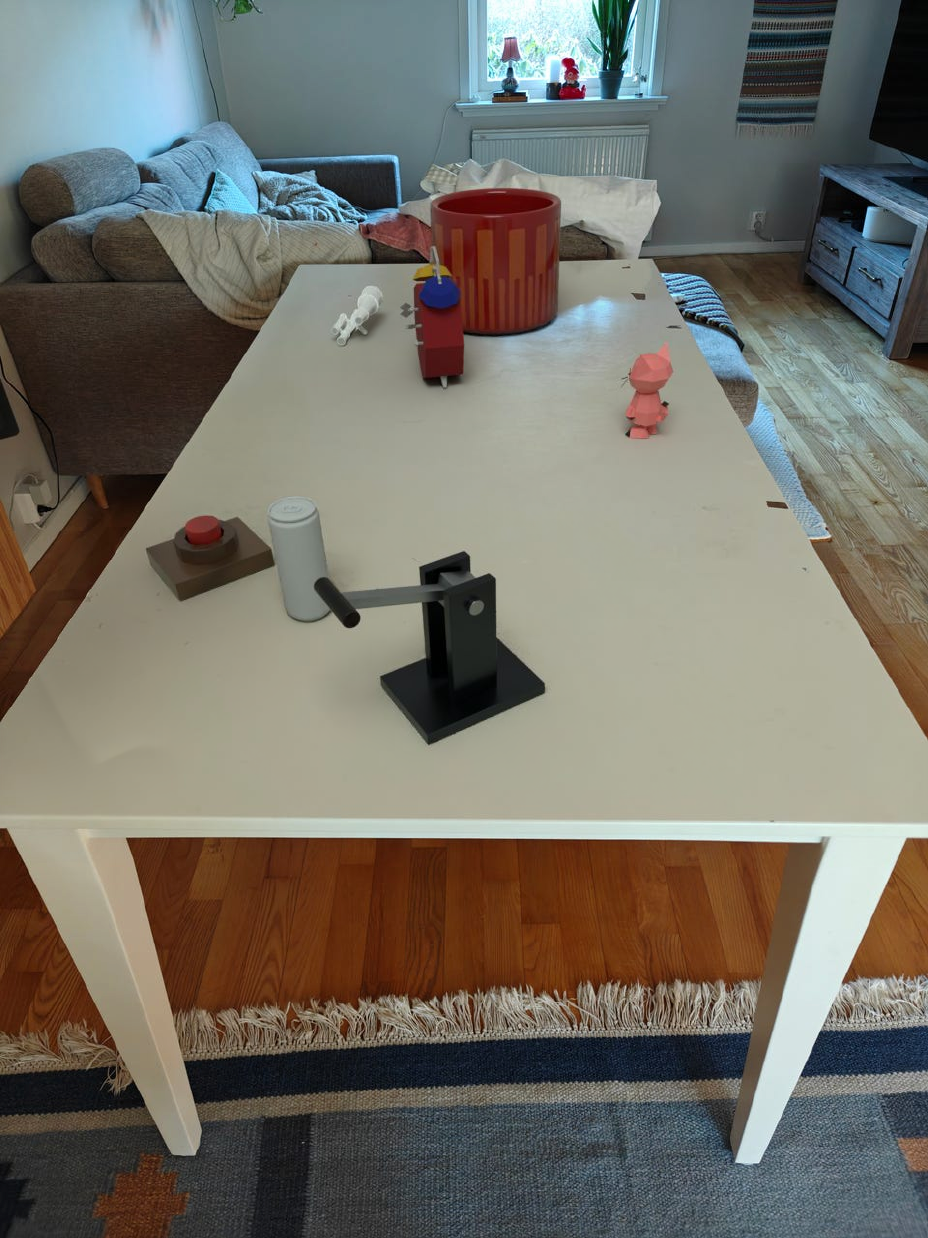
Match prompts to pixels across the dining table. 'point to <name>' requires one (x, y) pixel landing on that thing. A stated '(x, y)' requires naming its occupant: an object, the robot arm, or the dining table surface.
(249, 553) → the button block
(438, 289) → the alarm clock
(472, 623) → the bracket
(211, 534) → the button
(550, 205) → the planter
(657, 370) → the cat figurine
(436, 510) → the dining table surface
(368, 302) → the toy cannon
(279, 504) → the beverage can
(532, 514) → the dining table surface
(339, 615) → the lever
